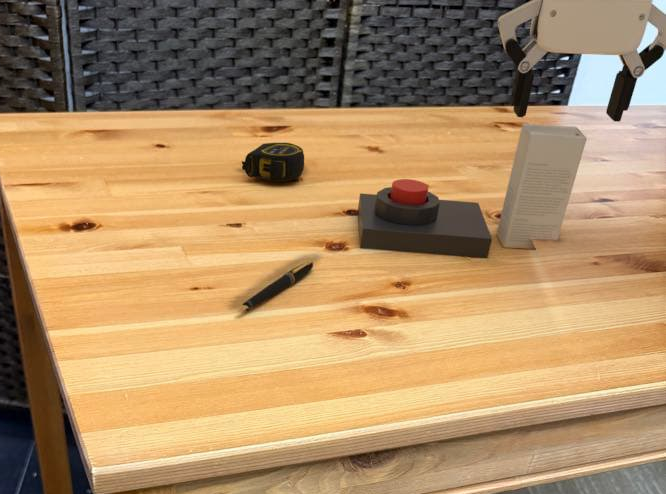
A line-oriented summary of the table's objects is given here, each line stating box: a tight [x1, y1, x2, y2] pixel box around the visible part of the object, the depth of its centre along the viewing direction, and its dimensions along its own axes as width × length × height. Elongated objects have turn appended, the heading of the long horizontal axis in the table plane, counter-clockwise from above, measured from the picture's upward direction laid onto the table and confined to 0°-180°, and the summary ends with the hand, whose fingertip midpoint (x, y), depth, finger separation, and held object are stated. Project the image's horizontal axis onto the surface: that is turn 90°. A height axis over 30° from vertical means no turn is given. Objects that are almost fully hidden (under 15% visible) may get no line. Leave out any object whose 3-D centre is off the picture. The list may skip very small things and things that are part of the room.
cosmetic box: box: [496, 123, 588, 250], centre depth 89 cm, size 6×4×12 cm
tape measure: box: [241, 142, 305, 183], centre depth 103 cm, size 7×7×4 cm
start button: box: [390, 178, 429, 205], centre depth 90 cm, size 4×4×2 cm
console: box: [357, 186, 493, 259], centre depth 92 cm, size 14×11×4 cm
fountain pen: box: [236, 259, 314, 313], centre depth 79 cm, size 14×1×2 cm, turn 148°
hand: (565, 115), depth 84 cm, fingers open, 9 cm apart
